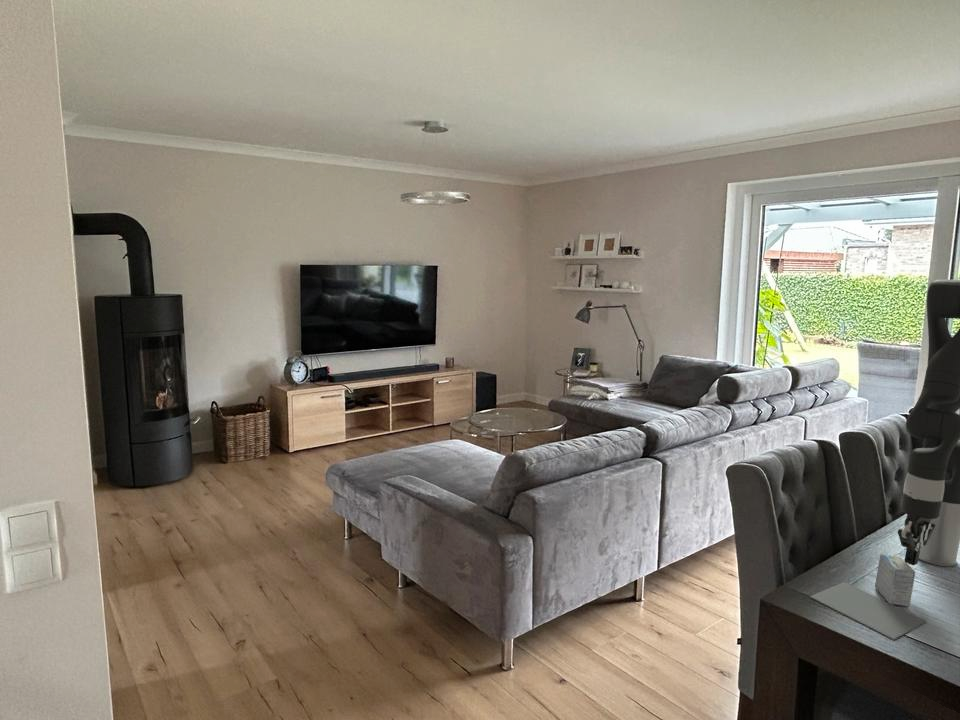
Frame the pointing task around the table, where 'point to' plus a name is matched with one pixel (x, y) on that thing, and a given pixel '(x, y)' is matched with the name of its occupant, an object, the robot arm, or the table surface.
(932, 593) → the table surface
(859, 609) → the slate mat
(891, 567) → the medicine box
